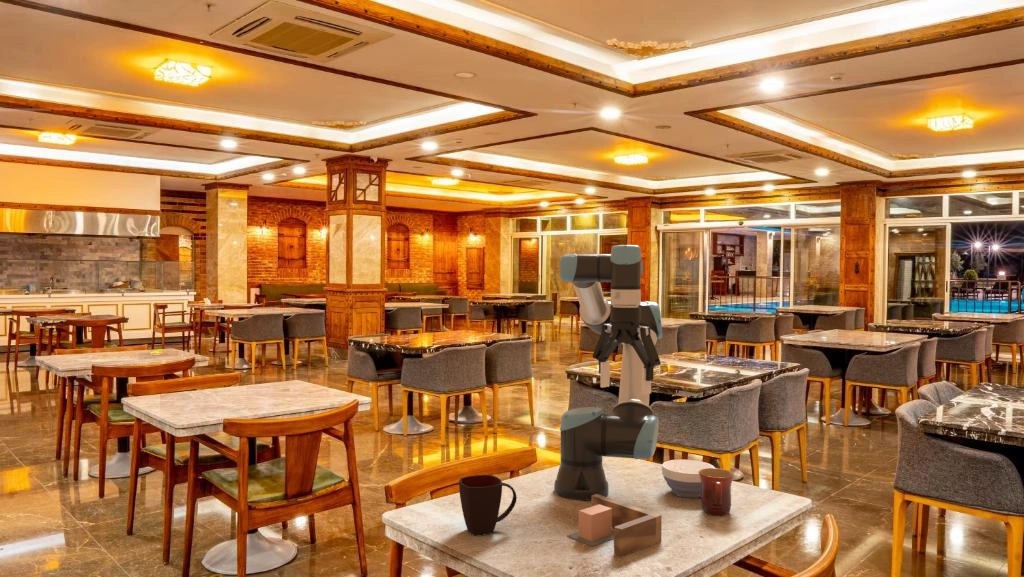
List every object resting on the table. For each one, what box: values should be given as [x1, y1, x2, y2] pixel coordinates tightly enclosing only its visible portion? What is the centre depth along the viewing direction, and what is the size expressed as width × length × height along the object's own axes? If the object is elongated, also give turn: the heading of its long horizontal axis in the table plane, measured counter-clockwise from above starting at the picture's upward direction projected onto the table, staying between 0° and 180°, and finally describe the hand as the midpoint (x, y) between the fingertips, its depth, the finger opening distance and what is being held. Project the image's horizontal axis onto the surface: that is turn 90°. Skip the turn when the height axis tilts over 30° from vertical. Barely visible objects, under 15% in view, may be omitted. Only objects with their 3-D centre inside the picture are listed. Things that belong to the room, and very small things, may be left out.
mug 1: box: [458, 474, 517, 536], centre depth 169 cm, size 10×14×12 cm
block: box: [578, 504, 613, 541], centre depth 166 cm, size 7×4×6 cm, turn 130°
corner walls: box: [590, 494, 663, 558], centre depth 166 cm, size 20×14×6 cm
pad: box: [567, 528, 614, 547], centre depth 166 cm, size 8×11×1 cm
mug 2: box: [699, 467, 735, 517], centre depth 180 cm, size 12×9×10 cm
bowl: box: [661, 459, 716, 499], centre depth 198 cm, size 14×14×8 cm
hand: (625, 390), depth 179 cm, fingers open, 13 cm apart
